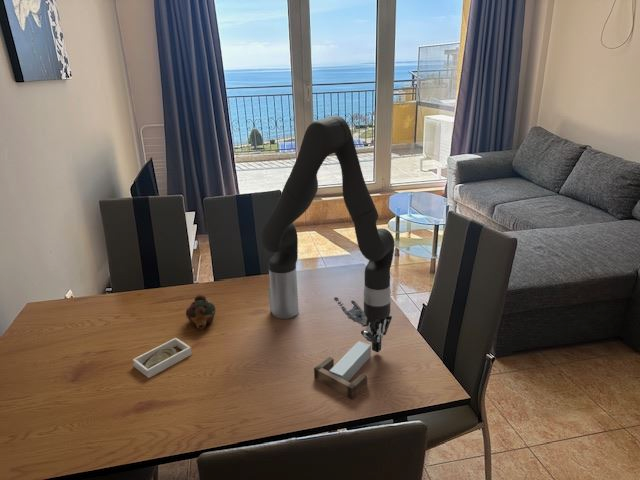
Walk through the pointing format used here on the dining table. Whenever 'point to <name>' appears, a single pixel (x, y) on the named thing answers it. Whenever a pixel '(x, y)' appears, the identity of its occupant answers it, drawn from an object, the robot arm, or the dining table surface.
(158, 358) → the oyster shell
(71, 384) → the dining table surface
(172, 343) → the shell dish
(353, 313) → the grey flat forked piece
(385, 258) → the robot arm
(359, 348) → the white rectangular bar
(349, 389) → the end cap
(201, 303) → the decorative turtle
